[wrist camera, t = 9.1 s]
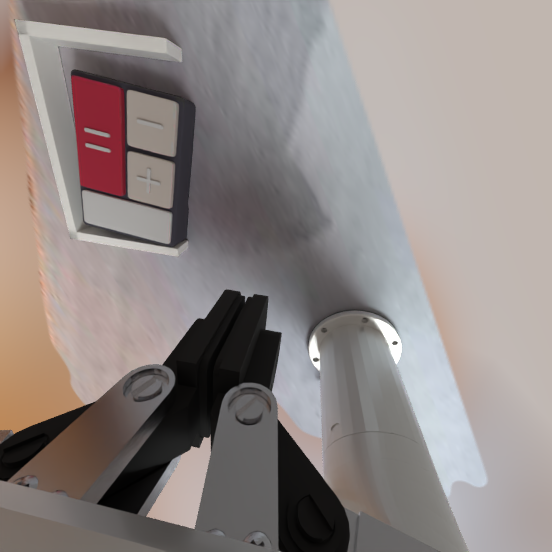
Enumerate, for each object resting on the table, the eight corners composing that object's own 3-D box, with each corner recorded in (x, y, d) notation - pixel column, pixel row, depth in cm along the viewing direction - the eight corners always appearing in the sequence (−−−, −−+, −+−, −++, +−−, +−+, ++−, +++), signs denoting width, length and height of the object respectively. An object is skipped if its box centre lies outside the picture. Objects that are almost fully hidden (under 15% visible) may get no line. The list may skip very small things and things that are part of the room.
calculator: (181, 96, 23) (171, 250, 30) (199, 104, 27) (187, 239, 34) (62, 65, 24) (77, 226, 30) (97, 77, 27) (104, 218, 34)
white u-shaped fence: (188, 247, 34) (178, 256, 31) (88, 231, 35) (70, 238, 32) (181, 49, 25) (166, 38, 22) (45, 31, 25) (14, 19, 23)
